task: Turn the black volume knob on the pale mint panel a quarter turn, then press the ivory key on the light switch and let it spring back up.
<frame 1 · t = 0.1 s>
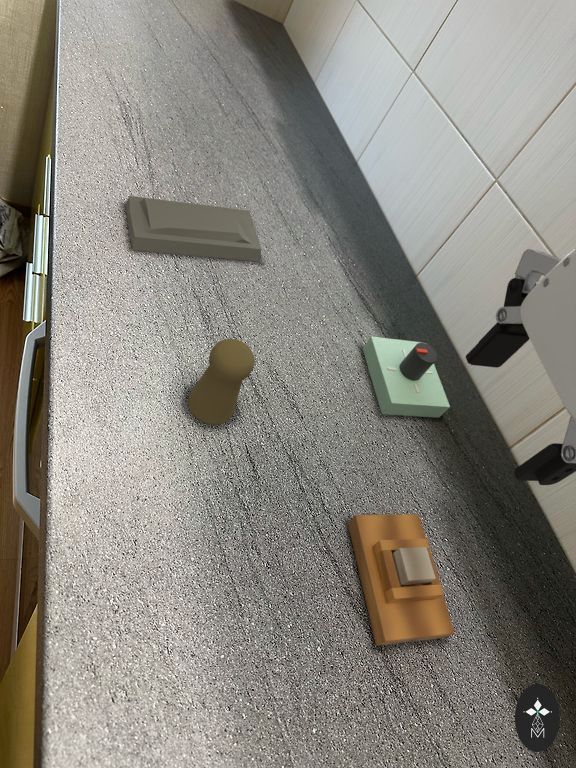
hand: (504, 416, 42), 32 cm above the worktop, tool pointing down, fingers open, 9 cm apart
grey bevelled block: (193, 234, 90), on the worktop
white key: (413, 565, 64), point 4 cm above the worktop, slide at 0.1 cm
volume panel: (400, 382, 87), on the worktop
light switch: (394, 578, 67), on the worktop
brown pawn: (211, 405, 72), on the worktop
volume knob: (418, 361, 83), point 5 cm above the worktop, hinge at 0.0°
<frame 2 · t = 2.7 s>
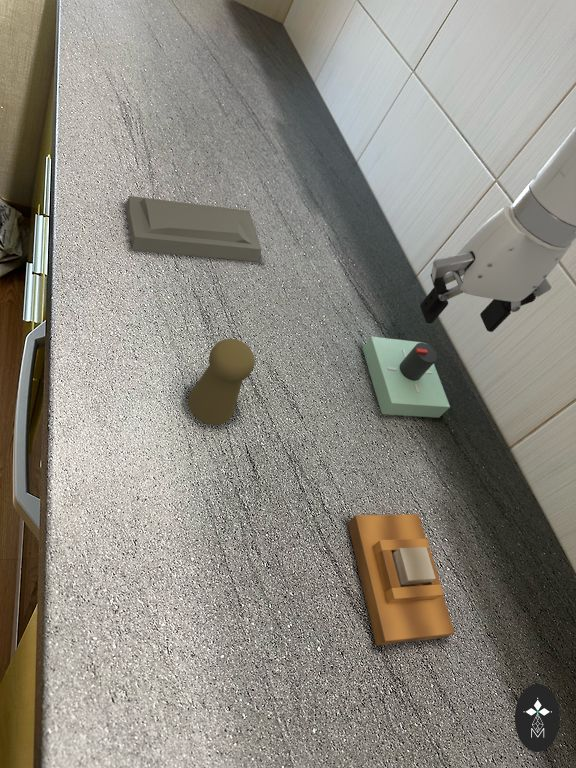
hand: (456, 319, 74), 16 cm above the worktop, tool pointing down, fingers open, 9 cm apart
nothing on the worktop moved.
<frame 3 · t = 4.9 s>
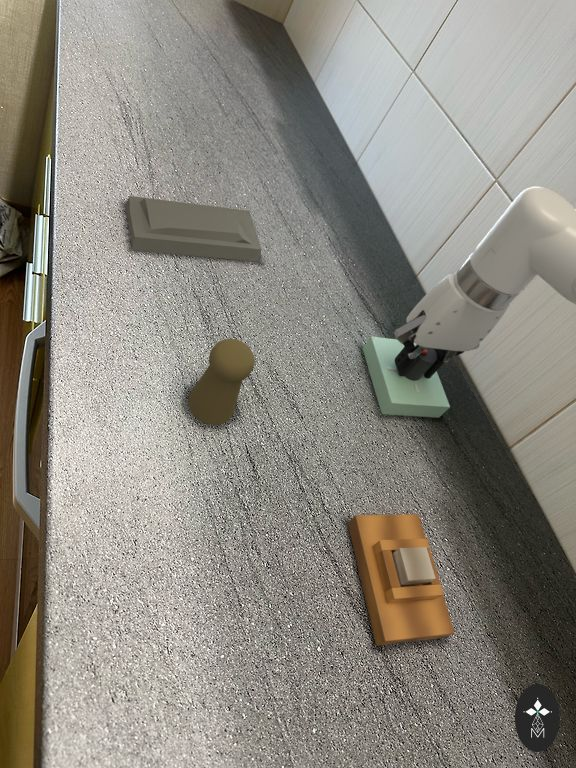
hand: (412, 368, 84), 4 cm above the worktop, tool pointing down, fingers closed on volume knob, 3 cm apart
volume knob: (418, 361, 83), point 5 cm above the worktop, hinge at 0.1°, touching gripper
everything else where it was.
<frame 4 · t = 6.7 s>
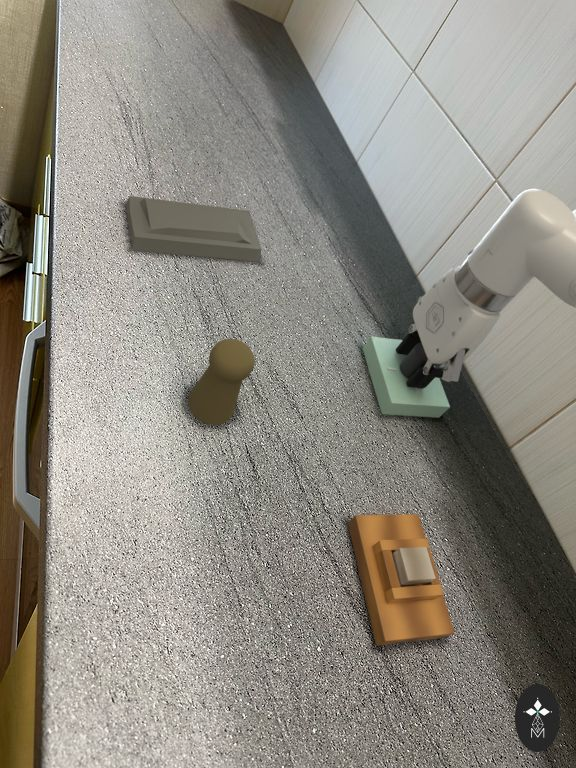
hand: (410, 368, 85), 3 cm above the worktop, tool pointing down, fingers open, 5 cm apart
volume knob: (418, 361, 83), point 5 cm above the worktop, hinge at 87.2°
everything else where it was.
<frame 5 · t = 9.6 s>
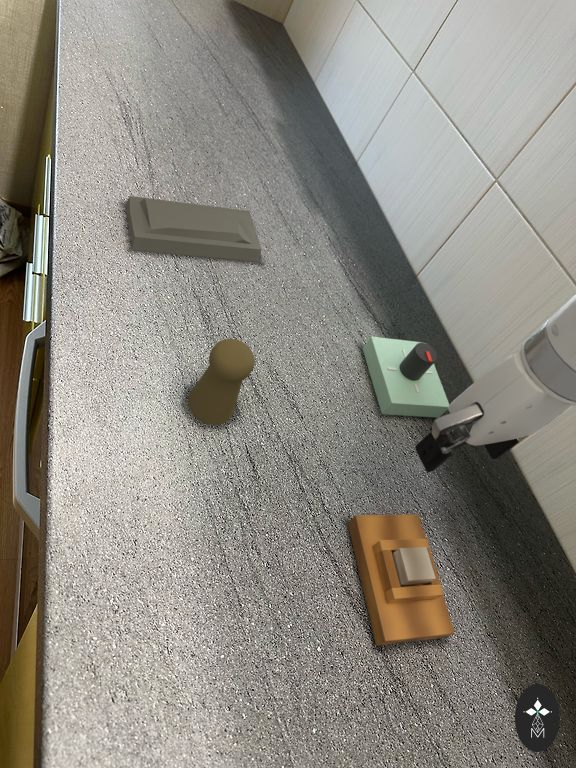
hand: (456, 453, 63), 14 cm above the worktop, tool pointing down, fingers open, 9 cm apart
nothing on the worktop moved.
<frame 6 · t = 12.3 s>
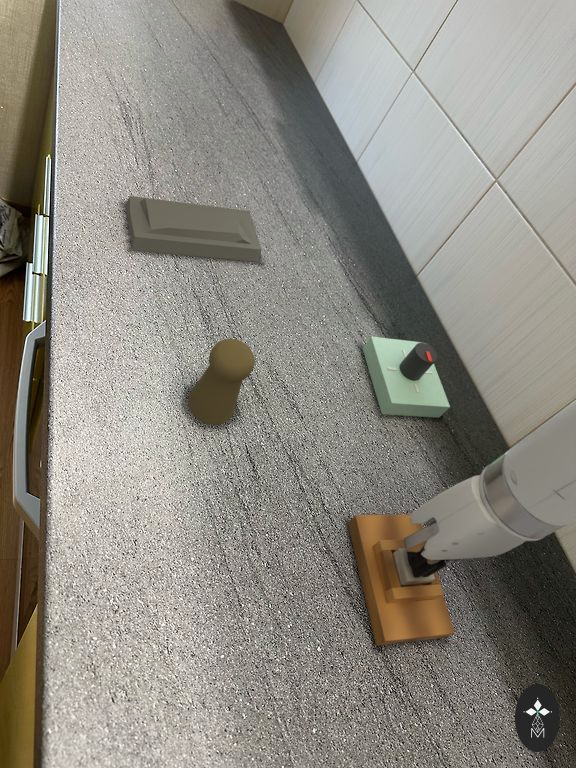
hand: (416, 563, 63), 5 cm above the worktop, tool pointing down, fingers closed
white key: (413, 566, 64), point 4 cm above the worktop, slide at 0.0 cm, touching gripper
everything else where it was.
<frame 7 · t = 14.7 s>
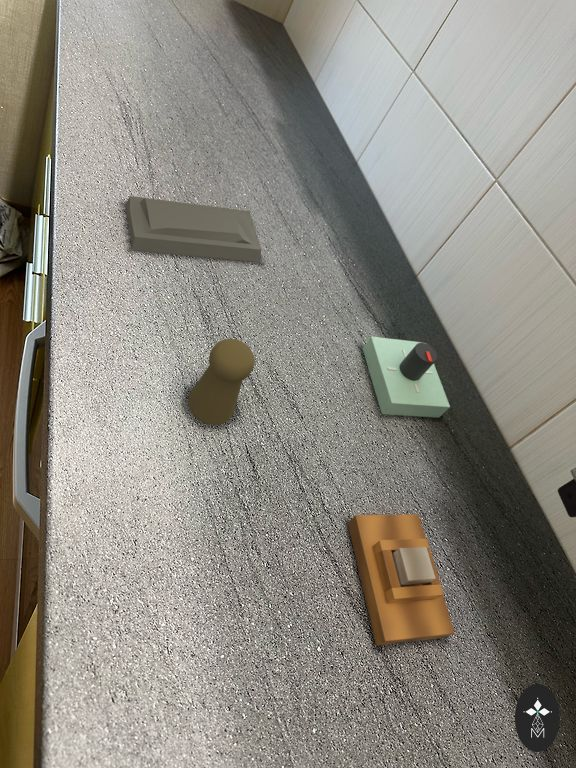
hand: (569, 503, 59), 18 cm above the worktop, tool pointing down, fingers closed
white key: (413, 565, 64), point 4 cm above the worktop, slide at 0.1 cm
everything else where it was.
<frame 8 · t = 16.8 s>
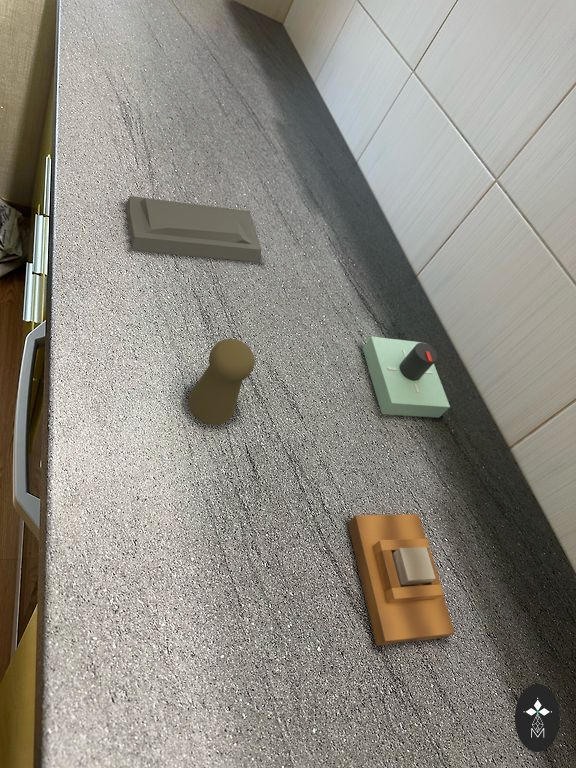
nothing on the worktop moved.
at the end: volume knob at +87° (first picture: +0°); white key pushed in 1.1 cm at the most during the clip, back to where it started at the end; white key slide at 0.1 cm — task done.
